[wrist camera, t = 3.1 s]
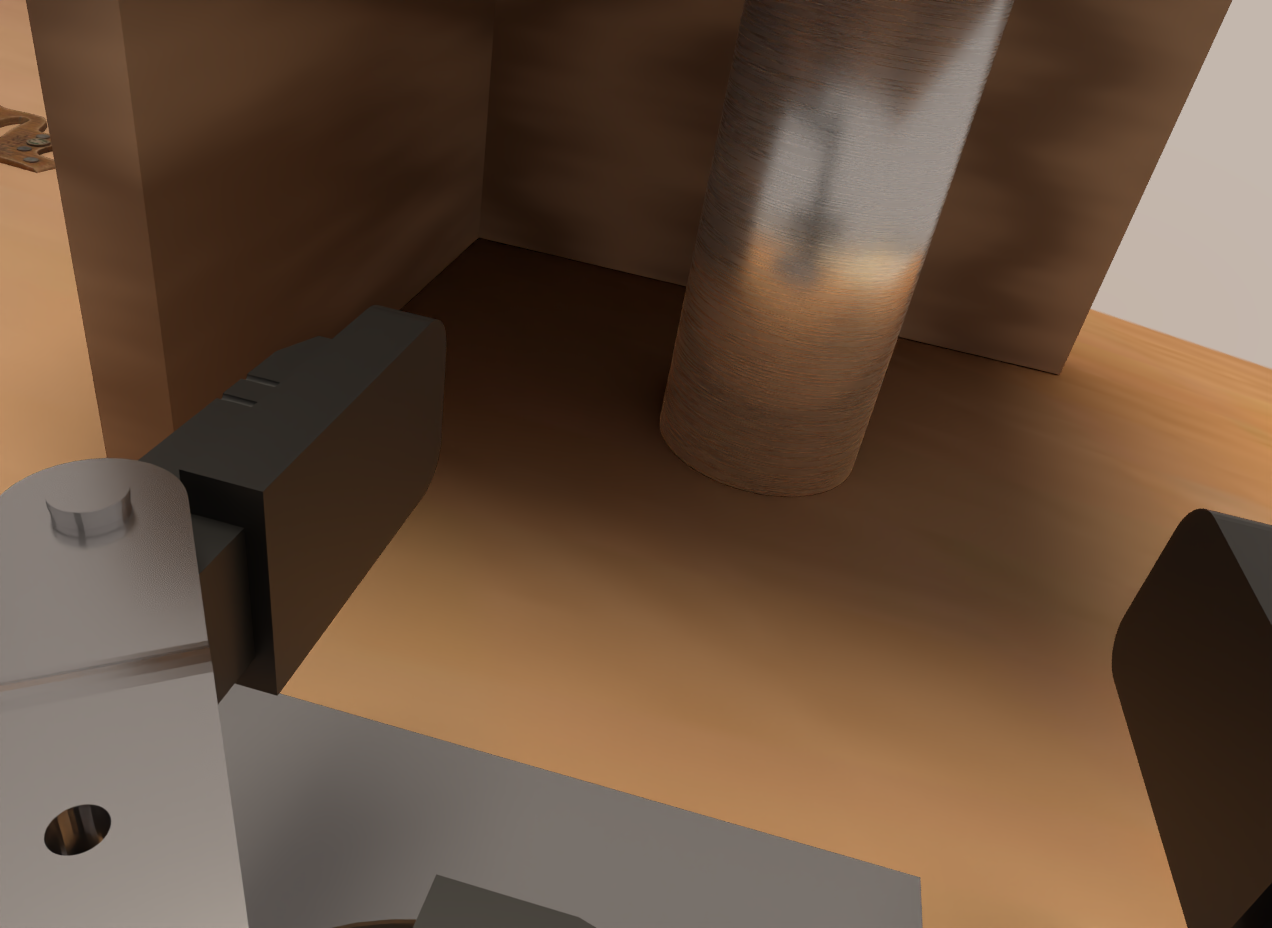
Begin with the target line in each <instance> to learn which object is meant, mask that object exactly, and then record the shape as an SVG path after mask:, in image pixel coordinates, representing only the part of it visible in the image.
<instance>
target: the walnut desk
mask: <svg viewBox="0 0 1272 928" xmlns="http://www.w3.org/2000/svg"><path fill="white" fill-rule="evenodd" d="M744 1H745V0H26V3H27V9H28V14H29V20H30V26H31V31H32V37H33V43H34V48H35V54H36V60H37V65H38V71H39V76H40V82H41V88H42V93H43V99H44V105H45V110H46V116H47V122H48V127H49V133H50V139H51V144H52V150H53V155H54V161H55V167H56V172H57V178H58V184H59V189H60V195H61V201H62V206H63V212H64V217H65V223H66V229H67V234H68V240H69V246H70V251H71V257H72V263H73V268H74V274H75V279H76V285H77V291H78V296H79V302H80V308H81V313H82V319H83V325H84V330H85V336H86V342H87V347H88V353H89V358H90V364H91V370H92V375H93V381H94V387H95V392H96V398H97V404H98V409H99V415H100V420H101V426H102V432H103V437H104V443H105V449H106V454H107V458H119V459H130V460H139V459H140V458H141V457H143V456H144V455H145V454H147V453H148V452H149V451H150V450H152V449H153V448H154V447H155V446H157V445H158V444H159V443H160V442H162V441H163V440H164V439H165V438H167V437H168V436H169V435H171V434H172V433H173V432H174V431H176V430H177V429H178V428H179V427H181V426H182V425H183V424H184V423H186V422H187V421H188V420H190V419H191V418H192V417H193V416H195V415H196V414H197V413H198V412H200V411H201V410H202V409H203V408H205V407H206V406H207V405H208V404H210V403H211V402H212V401H214V400H215V399H216V398H219V399H222V396H223V393H224V392H225V391H226V390H227V389H229V388H230V387H231V386H233V385H234V384H235V383H236V382H238V381H239V380H240V379H245V380H246V378H247V374H248V373H249V372H250V371H251V370H253V369H254V368H255V367H257V366H258V365H259V364H260V363H262V362H263V361H264V360H265V359H267V358H268V357H269V356H270V355H272V354H273V353H274V352H276V351H278V350H280V349H283V348H286V347H289V346H292V345H294V344H297V343H300V342H303V341H306V340H308V339H311V338H314V337H317V336H322V337H326V338H330V339H332V338H334V337H335V336H336V335H337V334H338V333H340V332H341V331H342V330H343V329H344V328H345V327H347V326H348V325H349V324H350V323H351V322H352V321H354V320H355V319H356V318H357V317H358V316H360V315H361V314H362V313H363V312H364V311H365V310H367V309H368V308H369V307H371V306H373V305H379V306H384V307H388V308H392V309H396V310H400V309H401V308H402V307H403V306H404V305H406V304H407V303H408V302H409V301H410V300H411V299H412V298H413V297H414V296H415V295H416V294H418V293H419V292H420V291H421V290H422V289H423V288H424V287H425V286H426V285H427V284H429V283H430V282H431V281H432V280H433V279H434V278H435V277H436V276H437V275H438V274H439V273H441V272H442V271H443V270H444V269H445V268H446V267H447V266H448V265H449V264H450V263H451V262H453V261H454V260H455V259H456V258H457V257H458V256H459V255H460V254H461V253H462V252H463V251H465V250H466V249H467V248H468V247H469V246H470V245H471V244H472V243H473V242H474V241H475V240H477V239H478V238H484V239H488V240H492V241H496V242H501V243H505V244H509V245H513V246H517V247H522V248H526V249H530V250H534V251H539V252H543V253H547V254H551V255H556V256H560V257H564V258H568V259H572V260H577V261H581V262H585V263H589V264H594V265H598V266H602V267H606V268H611V269H615V270H619V271H623V272H627V273H632V274H636V275H640V276H644V277H649V278H653V279H657V280H661V281H666V282H670V283H674V284H678V285H682V286H687V282H688V277H689V272H690V267H691V262H692V257H693V252H694V247H695V243H696V238H697V233H698V228H699V223H700V218H701V213H702V208H703V203H704V198H705V193H706V188H707V183H708V178H709V173H710V169H711V164H712V159H713V154H714V149H715V144H716V139H717V134H718V129H719V124H720V119H721V114H722V109H723V104H724V100H725V95H726V90H727V85H728V80H729V75H730V70H731V65H732V60H733V55H734V50H735V45H736V40H737V35H738V30H739V26H740V21H741V16H742V11H743V6H744ZM1231 2H1232V0H1014V3H1013V6H1012V9H1011V12H1010V15H1009V18H1008V20H1007V23H1006V26H1005V29H1004V32H1003V35H1002V38H1001V41H1000V44H999V46H998V49H997V52H996V55H995V58H994V61H993V64H992V67H991V70H990V73H989V75H988V78H987V81H986V84H985V87H984V90H983V93H982V96H981V99H980V101H979V104H978V107H977V110H976V113H975V116H974V119H973V122H972V125H971V127H970V130H969V133H968V136H967V139H966V142H965V145H964V148H963V151H962V154H961V156H960V159H959V162H958V165H957V168H956V171H955V174H954V177H953V180H952V182H951V185H950V188H949V191H948V194H947V197H946V200H945V203H944V206H943V208H942V211H941V214H940V217H939V220H938V223H937V226H936V229H935V232H934V235H933V237H932V240H931V243H930V246H929V249H928V252H927V255H926V258H925V261H924V263H923V266H922V269H921V272H920V275H919V278H918V281H917V284H916V287H915V290H914V292H913V295H912V298H911V301H910V304H909V307H908V310H907V313H906V316H905V318H904V321H903V324H902V327H901V330H900V333H899V336H898V337H902V338H907V339H911V340H915V341H919V342H924V343H928V344H932V345H936V346H941V347H945V348H949V349H953V350H957V351H962V352H966V353H970V354H974V355H979V356H983V357H987V358H991V359H996V360H1000V361H1004V362H1008V363H1012V364H1017V365H1021V366H1025V367H1029V368H1034V369H1038V370H1042V371H1046V372H1051V373H1055V374H1059V375H1060V373H1061V371H1062V369H1063V366H1064V364H1065V362H1066V360H1067V358H1068V356H1069V353H1070V351H1071V349H1072V347H1073V345H1074V342H1075V340H1076V338H1077V336H1078V334H1079V332H1080V329H1081V327H1082V325H1083V323H1084V321H1085V319H1086V316H1087V314H1088V312H1089V310H1090V308H1091V306H1092V303H1093V301H1094V299H1095V297H1096V294H1097V293H1098V290H1099V288H1100V286H1101V284H1102V282H1103V279H1104V277H1105V275H1106V273H1107V271H1108V269H1109V267H1110V264H1111V262H1112V260H1113V258H1114V256H1115V253H1116V251H1117V249H1118V247H1119V245H1120V243H1121V241H1122V238H1123V236H1124V234H1125V232H1126V230H1127V228H1128V225H1129V223H1130V221H1131V219H1132V217H1133V214H1134V212H1135V210H1136V208H1137V206H1138V204H1139V202H1140V199H1141V197H1142V195H1143V193H1144V190H1145V188H1146V186H1147V184H1148V182H1149V180H1150V178H1151V175H1152V173H1153V171H1154V169H1155V167H1156V165H1157V162H1158V160H1159V158H1160V156H1161V154H1162V152H1163V149H1164V147H1165V145H1166V143H1167V140H1168V139H1169V136H1170V134H1171V132H1172V130H1173V128H1174V126H1175V123H1176V121H1177V119H1178V117H1179V115H1180V113H1181V110H1182V108H1183V106H1184V104H1185V102H1186V99H1187V97H1188V95H1189V93H1190V91H1191V89H1192V87H1193V84H1194V82H1195V80H1196V78H1197V76H1198V74H1199V71H1200V69H1201V67H1202V65H1203V63H1204V60H1205V58H1206V56H1207V54H1208V52H1209V50H1210V48H1211V45H1212V43H1213V40H1214V39H1215V37H1216V34H1217V32H1218V30H1219V28H1220V26H1221V23H1222V21H1223V19H1224V17H1225V15H1226V13H1227V11H1228V8H1229V6H1230V4H1231Z"/></svg>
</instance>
